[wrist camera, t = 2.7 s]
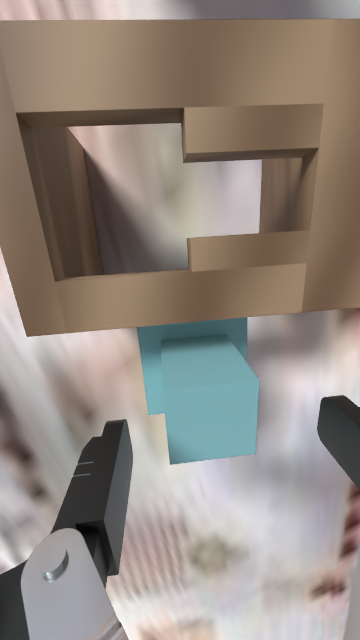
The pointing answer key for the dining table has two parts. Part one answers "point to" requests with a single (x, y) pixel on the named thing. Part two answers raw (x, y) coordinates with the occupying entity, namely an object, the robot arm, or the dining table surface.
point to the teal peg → (201, 387)
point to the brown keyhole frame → (198, 146)
